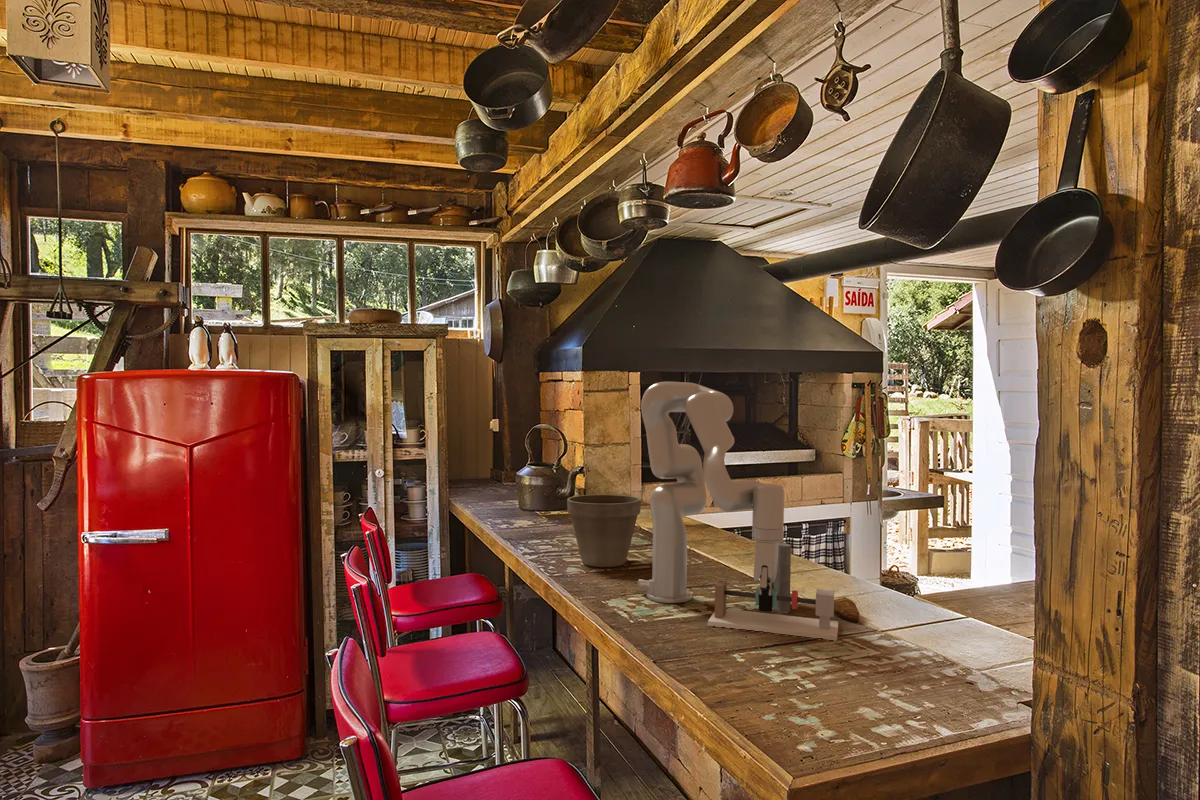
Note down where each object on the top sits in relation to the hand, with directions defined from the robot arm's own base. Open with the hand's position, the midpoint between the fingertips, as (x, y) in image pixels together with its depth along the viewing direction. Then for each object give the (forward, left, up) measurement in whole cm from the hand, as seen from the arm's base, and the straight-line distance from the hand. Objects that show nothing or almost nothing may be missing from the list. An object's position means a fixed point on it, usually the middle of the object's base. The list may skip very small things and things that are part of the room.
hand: (766, 607), depth 179 cm
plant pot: (-59, +48, -4) cm, 76 cm away
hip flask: (0, +19, -4) cm, 20 cm away
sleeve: (0, 0, +1) cm, 1 cm away
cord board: (+2, 0, -4) cm, 5 cm away
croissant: (+18, +16, -5) cm, 24 cm away
